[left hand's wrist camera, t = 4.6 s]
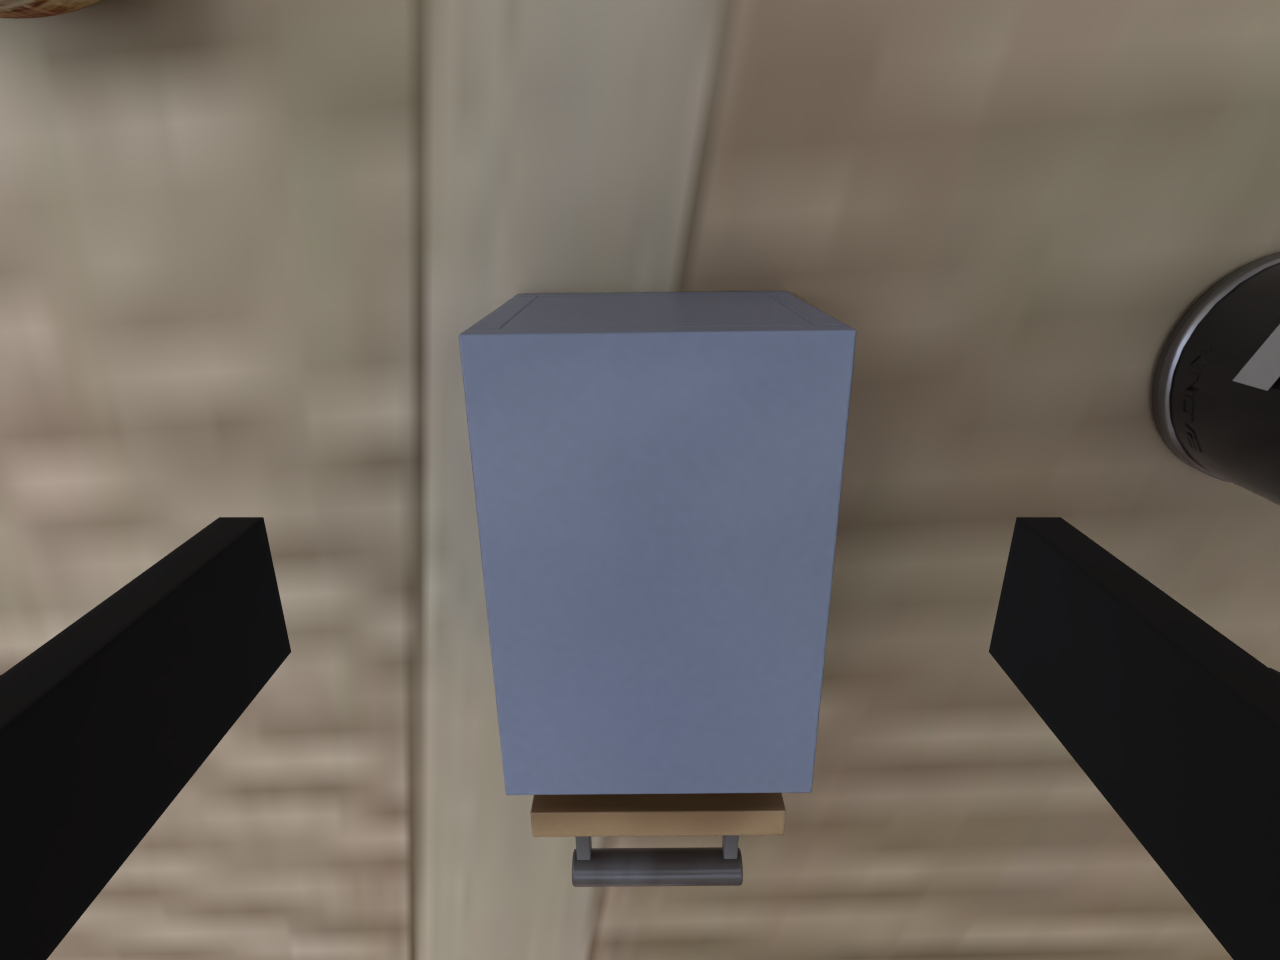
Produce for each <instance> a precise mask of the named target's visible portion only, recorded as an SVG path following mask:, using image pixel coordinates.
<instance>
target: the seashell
mask: <svg viewBox="0 0 1280 960" xmlns="http://www.w3.org/2000/svg"><path fill="white" fill-rule="evenodd" d="M99 1H101V0H0V18H38V17H47V16H54V15H60V14H64V13H68V12H73V11H76V10H79V9H82V8H85V7H88V6H90V5H93V4H95V3H97V2H99Z"/></svg>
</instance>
